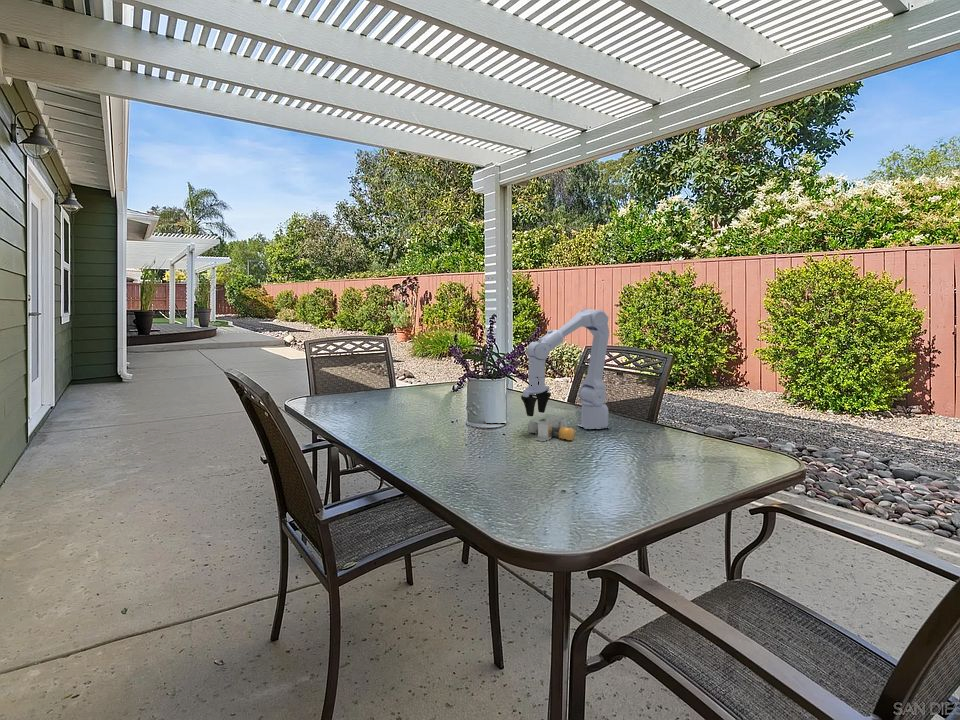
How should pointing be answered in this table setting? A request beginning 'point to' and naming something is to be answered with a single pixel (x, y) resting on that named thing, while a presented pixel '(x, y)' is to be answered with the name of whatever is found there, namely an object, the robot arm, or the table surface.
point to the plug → (563, 432)
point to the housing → (549, 427)
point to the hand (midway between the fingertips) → (535, 414)
